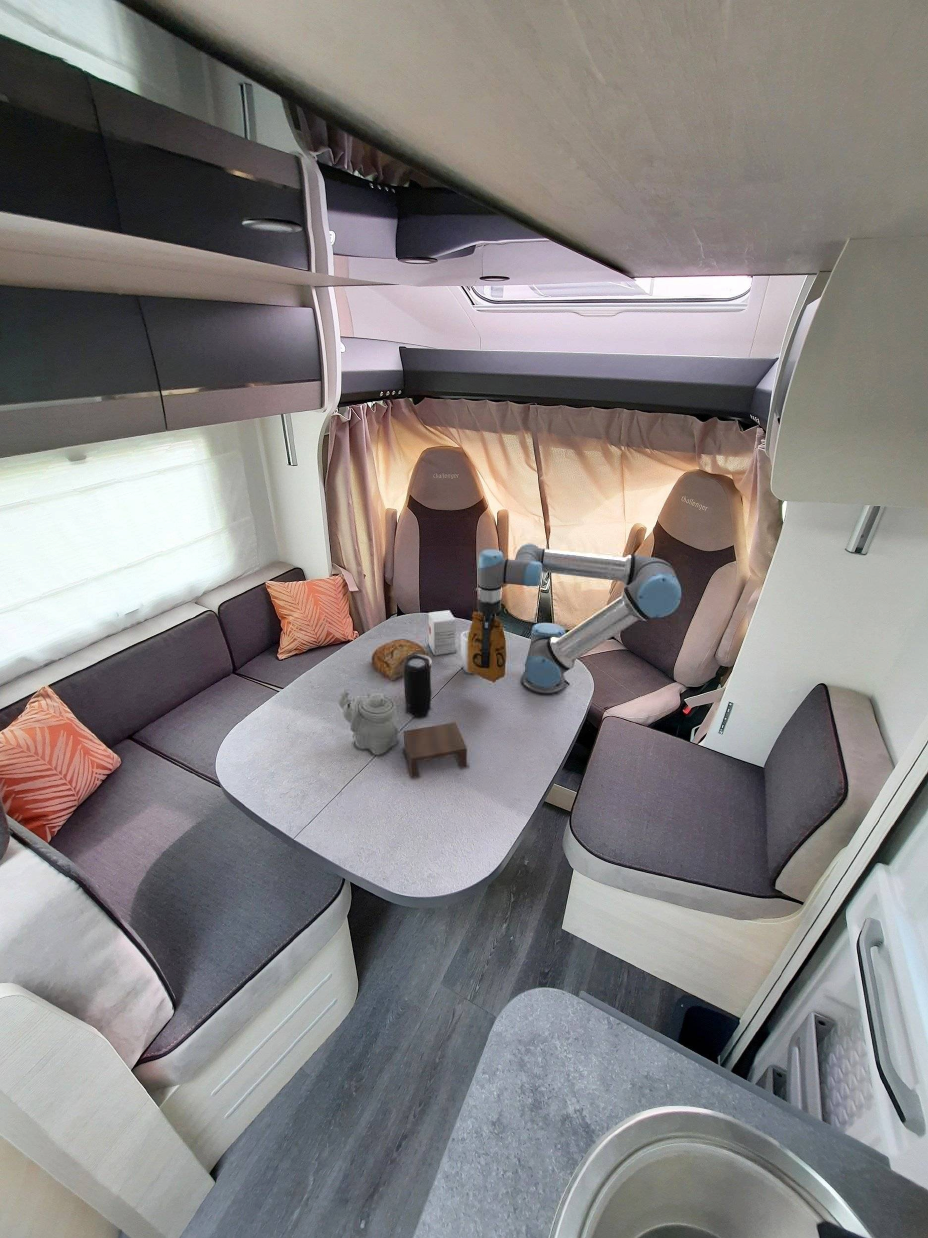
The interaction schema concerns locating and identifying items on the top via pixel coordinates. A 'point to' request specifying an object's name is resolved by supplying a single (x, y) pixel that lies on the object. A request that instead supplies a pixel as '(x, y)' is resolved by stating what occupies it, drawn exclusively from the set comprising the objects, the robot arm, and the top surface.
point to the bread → (395, 657)
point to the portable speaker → (417, 685)
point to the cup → (464, 650)
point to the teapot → (371, 721)
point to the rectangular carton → (442, 632)
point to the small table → (434, 744)
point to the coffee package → (496, 650)
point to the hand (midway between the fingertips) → (487, 657)
